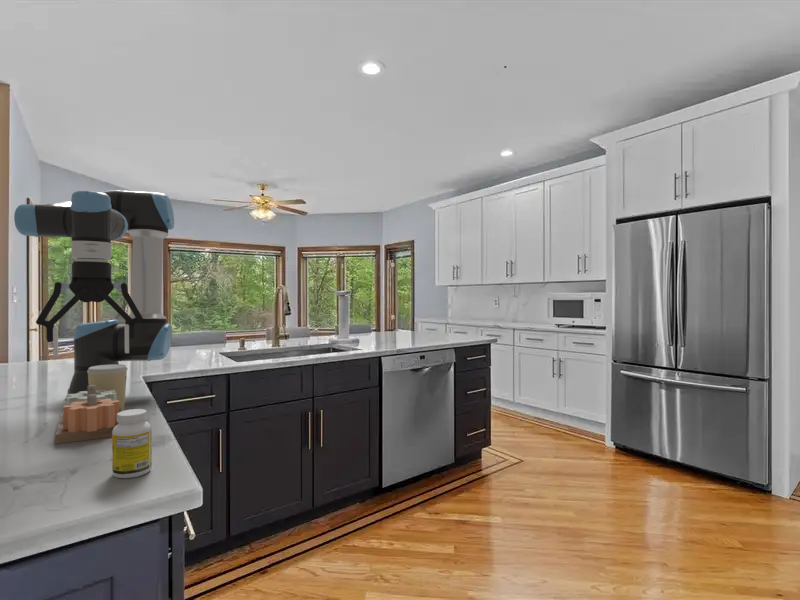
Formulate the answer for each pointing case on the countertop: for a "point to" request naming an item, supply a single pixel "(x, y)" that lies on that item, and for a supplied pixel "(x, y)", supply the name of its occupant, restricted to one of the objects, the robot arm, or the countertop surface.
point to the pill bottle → (131, 444)
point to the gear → (83, 395)
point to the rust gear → (90, 415)
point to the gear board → (66, 436)
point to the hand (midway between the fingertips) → (92, 354)
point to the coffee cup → (109, 379)
